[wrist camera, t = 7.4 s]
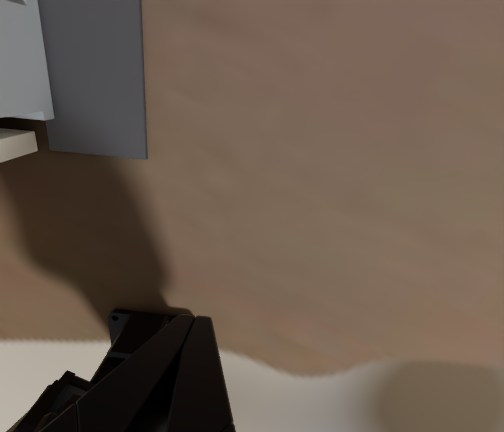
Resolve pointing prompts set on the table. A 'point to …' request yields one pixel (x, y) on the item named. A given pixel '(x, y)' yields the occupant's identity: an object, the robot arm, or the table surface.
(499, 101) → the table surface
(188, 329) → the robot arm
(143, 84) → the tunnel
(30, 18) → the bracket
